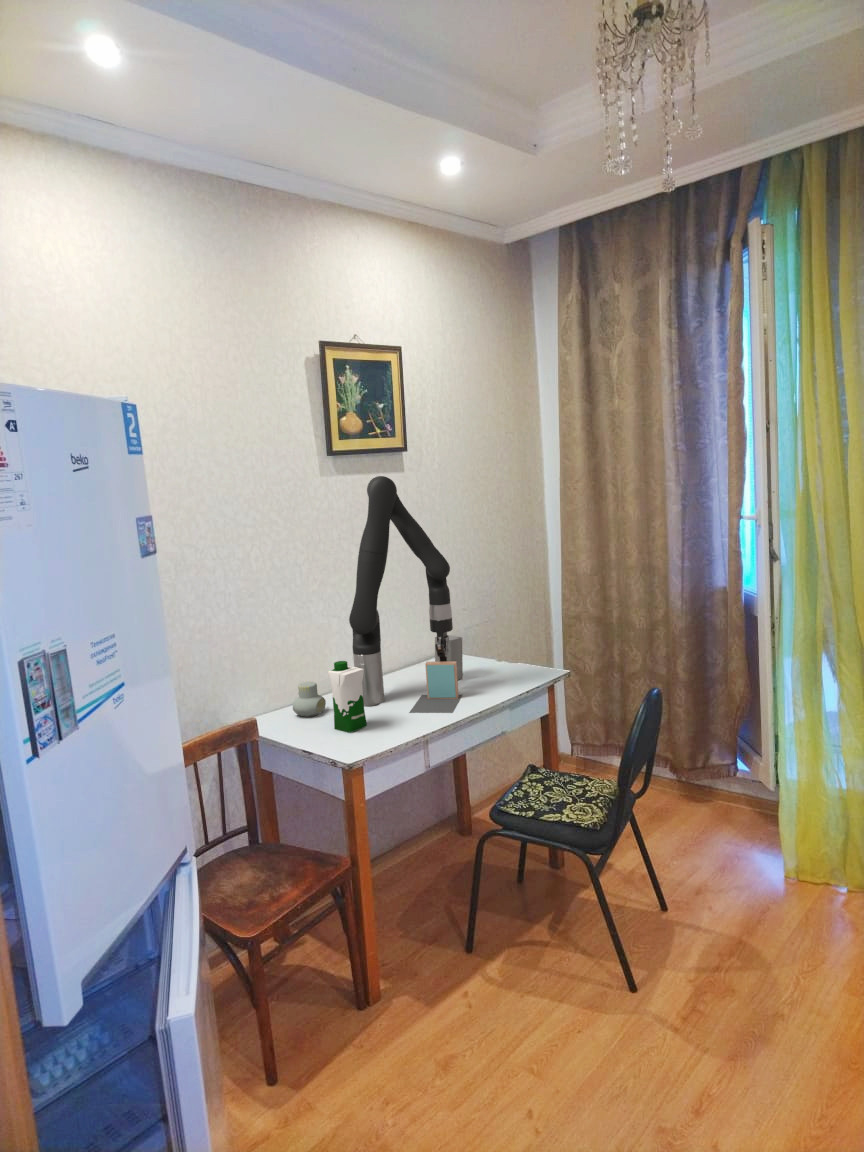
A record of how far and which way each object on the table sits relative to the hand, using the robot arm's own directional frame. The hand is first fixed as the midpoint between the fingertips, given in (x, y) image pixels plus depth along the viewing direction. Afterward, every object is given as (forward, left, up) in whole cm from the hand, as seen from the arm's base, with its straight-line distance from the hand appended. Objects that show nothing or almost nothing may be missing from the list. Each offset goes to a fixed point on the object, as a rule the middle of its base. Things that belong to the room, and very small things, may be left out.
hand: (443, 667), depth 255 cm
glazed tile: (0, -5, -9) cm, 10 cm away
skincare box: (-2, +19, -10) cm, 21 cm away
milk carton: (-23, -33, -10) cm, 42 cm away
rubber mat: (-1, -11, -9) cm, 14 cm away
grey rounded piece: (-41, -20, -10) cm, 47 cm away
